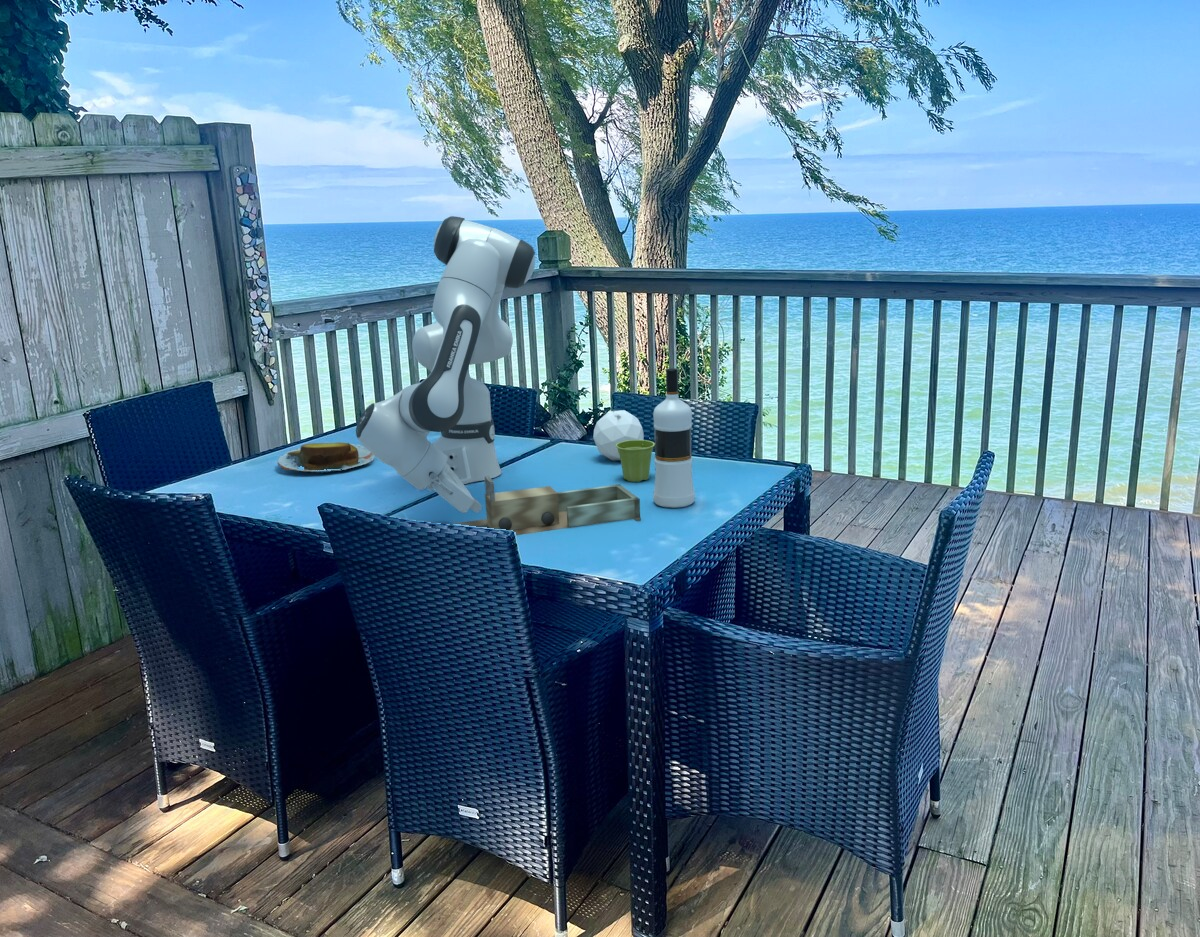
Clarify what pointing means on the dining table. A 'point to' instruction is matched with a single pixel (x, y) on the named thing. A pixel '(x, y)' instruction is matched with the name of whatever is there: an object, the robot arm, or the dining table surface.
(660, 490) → the vodka
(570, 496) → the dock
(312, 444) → the food on plate
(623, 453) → the plant pot
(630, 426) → the geodesic sphere
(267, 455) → the dining table surface
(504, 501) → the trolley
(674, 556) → the dining table surface
